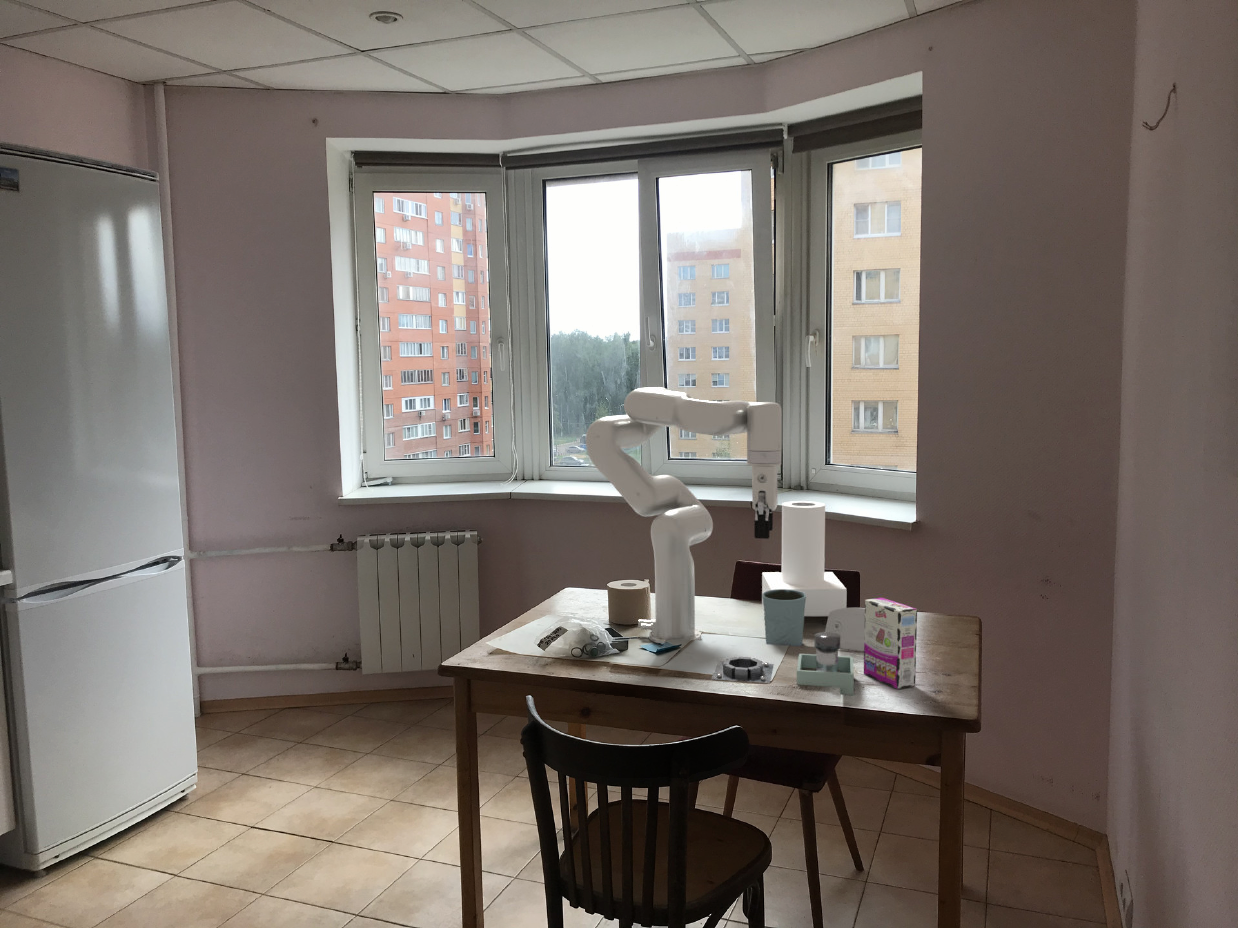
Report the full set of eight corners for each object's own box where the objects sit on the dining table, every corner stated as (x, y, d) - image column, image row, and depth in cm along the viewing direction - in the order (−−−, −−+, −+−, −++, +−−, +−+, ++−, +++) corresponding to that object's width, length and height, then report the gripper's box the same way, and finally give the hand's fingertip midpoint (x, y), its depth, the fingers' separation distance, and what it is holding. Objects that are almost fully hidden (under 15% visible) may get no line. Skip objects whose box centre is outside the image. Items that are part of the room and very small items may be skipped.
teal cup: (803, 637, 224) (803, 589, 222) (807, 650, 214) (808, 599, 212) (761, 636, 225) (761, 588, 223) (763, 649, 215) (763, 599, 213)
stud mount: (711, 685, 191) (711, 670, 191) (718, 667, 203) (718, 652, 203) (769, 689, 189) (769, 674, 188) (773, 670, 200) (773, 655, 200)
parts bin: (796, 691, 188) (796, 670, 187) (799, 672, 199) (799, 653, 198) (853, 694, 185) (853, 674, 185) (852, 676, 196) (853, 656, 195)
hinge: (820, 645, 217) (824, 603, 219) (824, 647, 221) (828, 605, 223) (893, 654, 210) (897, 610, 212) (896, 655, 214) (900, 612, 216)
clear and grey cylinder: (831, 685, 188) (831, 641, 187) (809, 679, 192) (809, 636, 191) (844, 679, 192) (845, 635, 191) (822, 673, 195) (823, 630, 194)
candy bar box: (917, 686, 190) (918, 608, 188) (897, 690, 188) (899, 611, 186) (881, 670, 200) (882, 596, 198) (862, 673, 198) (863, 598, 196)
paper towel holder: (770, 628, 232) (771, 510, 229) (762, 608, 251) (762, 499, 247) (846, 628, 231) (847, 509, 228) (831, 608, 250) (833, 498, 247)
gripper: (778, 462, 195) (778, 542, 197) (783, 454, 212) (783, 527, 214) (743, 462, 197) (742, 541, 199) (750, 454, 214) (750, 526, 216)
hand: (763, 534), depth 206 cm, fingers open, 9 cm apart
